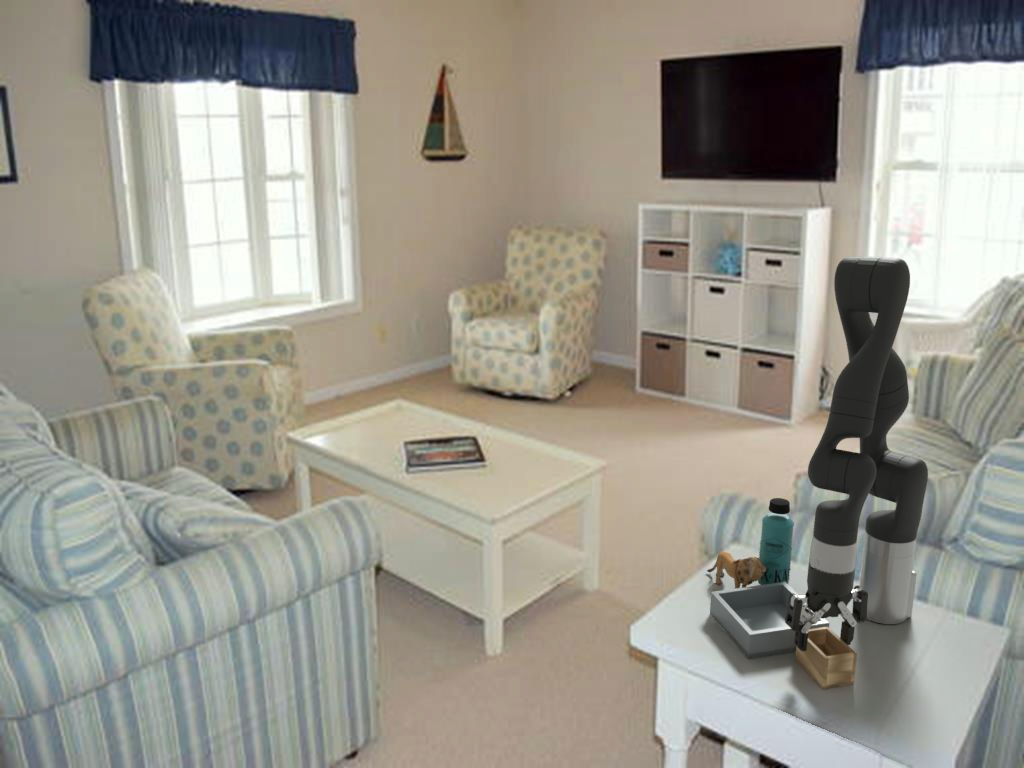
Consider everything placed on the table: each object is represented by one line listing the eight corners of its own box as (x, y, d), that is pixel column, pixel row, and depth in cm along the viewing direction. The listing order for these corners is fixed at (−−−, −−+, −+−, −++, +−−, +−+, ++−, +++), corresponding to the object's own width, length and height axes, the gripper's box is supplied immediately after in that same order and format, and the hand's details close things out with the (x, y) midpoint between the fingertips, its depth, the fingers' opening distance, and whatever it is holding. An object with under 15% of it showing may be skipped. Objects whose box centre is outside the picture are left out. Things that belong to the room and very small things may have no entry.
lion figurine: (768, 598, 187) (771, 558, 185) (749, 605, 184) (752, 565, 182) (715, 570, 199) (717, 532, 196) (697, 576, 196) (699, 538, 194)
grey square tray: (783, 604, 185) (784, 581, 183) (827, 646, 170) (829, 622, 168) (709, 614, 181) (711, 592, 180) (748, 659, 166) (750, 634, 165)
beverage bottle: (754, 580, 194) (760, 493, 188) (786, 582, 193) (793, 494, 188) (758, 596, 188) (764, 506, 182) (791, 598, 187) (798, 507, 181)
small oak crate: (824, 655, 167) (827, 626, 165) (853, 684, 159) (857, 653, 157) (795, 660, 166) (797, 631, 164) (822, 689, 157) (825, 658, 156)
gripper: (856, 548, 161) (847, 630, 166) (783, 556, 158) (775, 639, 162) (882, 567, 154) (871, 652, 159) (806, 576, 151) (797, 662, 155)
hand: (823, 645), depth 160 cm, fingers open, 8 cm apart
